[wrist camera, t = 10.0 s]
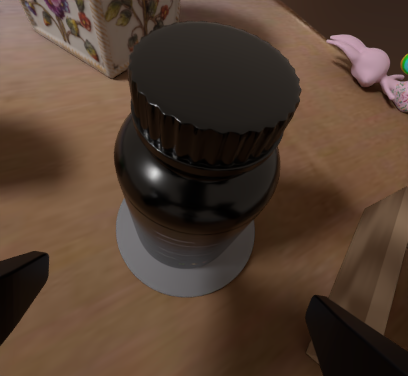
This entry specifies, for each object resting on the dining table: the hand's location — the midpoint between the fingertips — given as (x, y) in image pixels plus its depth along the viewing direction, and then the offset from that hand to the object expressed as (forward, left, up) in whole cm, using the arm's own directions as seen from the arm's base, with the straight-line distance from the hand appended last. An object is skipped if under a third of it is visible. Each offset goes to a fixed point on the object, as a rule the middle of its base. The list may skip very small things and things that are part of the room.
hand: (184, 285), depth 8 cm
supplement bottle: (+5, 0, -7) cm, 9 cm away
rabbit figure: (+27, -22, -8) cm, 36 cm away
